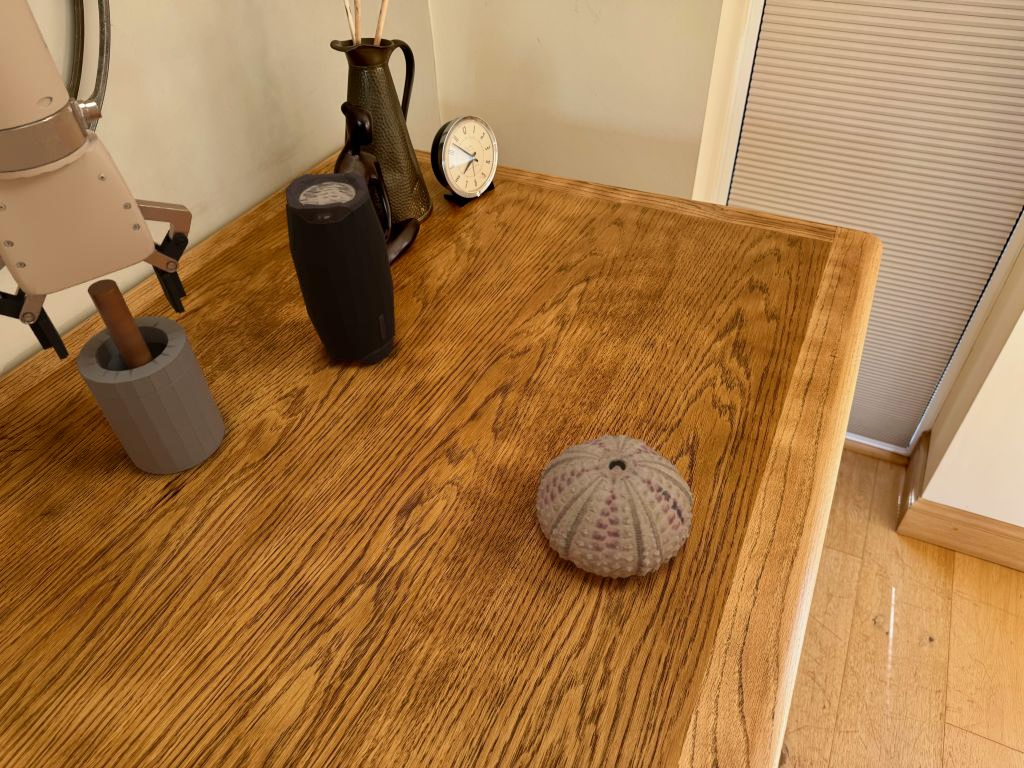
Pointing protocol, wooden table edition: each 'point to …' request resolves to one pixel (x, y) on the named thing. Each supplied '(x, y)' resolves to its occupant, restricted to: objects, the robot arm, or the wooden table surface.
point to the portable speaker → (342, 265)
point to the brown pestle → (120, 323)
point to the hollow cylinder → (155, 398)
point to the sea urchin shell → (614, 507)
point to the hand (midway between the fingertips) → (120, 327)
